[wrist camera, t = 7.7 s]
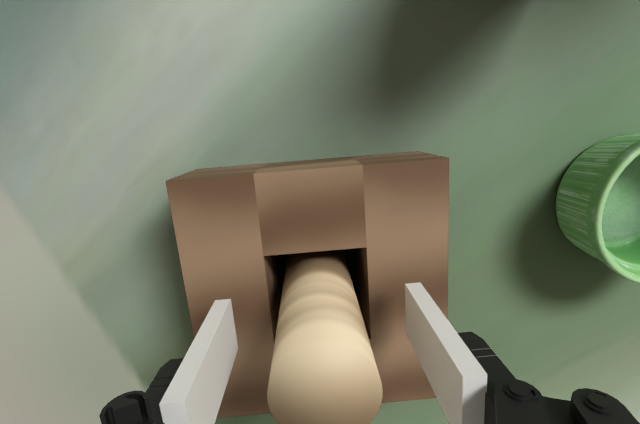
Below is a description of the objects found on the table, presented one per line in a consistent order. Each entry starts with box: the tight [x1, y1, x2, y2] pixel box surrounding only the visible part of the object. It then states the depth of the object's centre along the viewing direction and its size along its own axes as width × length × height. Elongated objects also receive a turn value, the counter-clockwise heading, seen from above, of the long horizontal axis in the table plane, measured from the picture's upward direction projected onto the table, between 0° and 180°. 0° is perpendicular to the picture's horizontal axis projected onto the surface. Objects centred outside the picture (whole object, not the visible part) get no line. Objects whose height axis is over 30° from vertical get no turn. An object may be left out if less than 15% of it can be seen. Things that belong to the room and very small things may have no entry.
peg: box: [267, 249, 383, 424], centre depth 18 cm, size 4×4×12 cm
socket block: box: [166, 151, 449, 418], centre depth 21 cm, size 14×14×5 cm
